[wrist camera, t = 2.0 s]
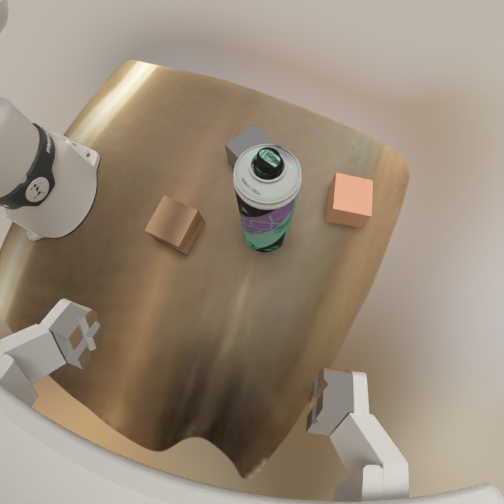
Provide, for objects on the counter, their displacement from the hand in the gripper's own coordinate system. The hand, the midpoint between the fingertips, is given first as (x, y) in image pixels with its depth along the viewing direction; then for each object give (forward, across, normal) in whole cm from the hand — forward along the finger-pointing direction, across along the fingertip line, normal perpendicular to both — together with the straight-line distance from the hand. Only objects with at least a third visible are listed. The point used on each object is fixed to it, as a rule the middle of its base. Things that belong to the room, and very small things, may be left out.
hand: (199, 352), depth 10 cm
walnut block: (+28, +12, +13) cm, 32 cm away
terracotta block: (+33, -10, +7) cm, 36 cm away
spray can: (+29, 0, +12) cm, 31 cm away
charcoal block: (+36, +4, +4) cm, 37 cm away
